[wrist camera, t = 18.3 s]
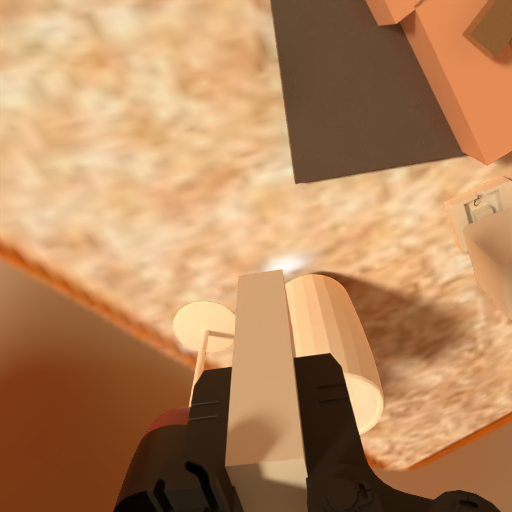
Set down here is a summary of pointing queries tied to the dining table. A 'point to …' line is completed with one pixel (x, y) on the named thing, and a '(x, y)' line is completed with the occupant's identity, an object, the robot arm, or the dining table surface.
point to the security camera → (487, 236)
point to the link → (458, 71)
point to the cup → (336, 340)
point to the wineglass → (175, 420)
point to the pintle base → (363, 87)
